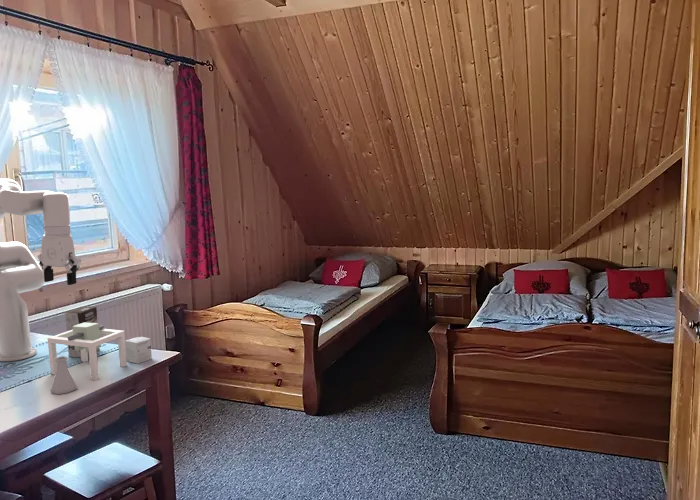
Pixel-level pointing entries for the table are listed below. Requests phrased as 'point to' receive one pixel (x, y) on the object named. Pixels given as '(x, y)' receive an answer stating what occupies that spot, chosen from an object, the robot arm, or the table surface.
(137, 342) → the skincare box
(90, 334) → the slotted cream block
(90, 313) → the coffee box
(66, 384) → the flask
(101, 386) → the table surface
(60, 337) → the white square frame
